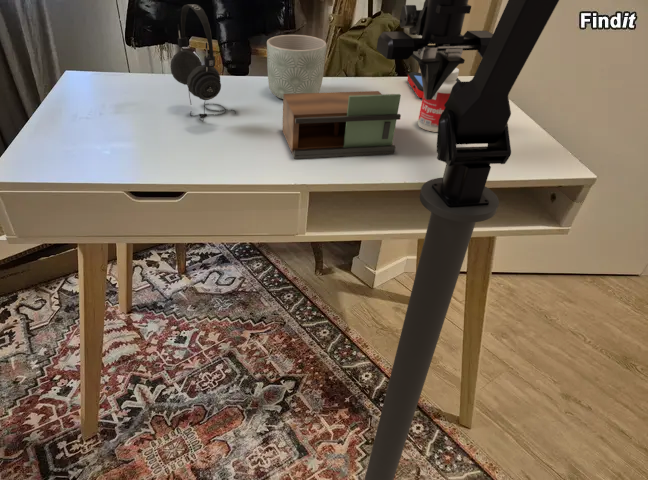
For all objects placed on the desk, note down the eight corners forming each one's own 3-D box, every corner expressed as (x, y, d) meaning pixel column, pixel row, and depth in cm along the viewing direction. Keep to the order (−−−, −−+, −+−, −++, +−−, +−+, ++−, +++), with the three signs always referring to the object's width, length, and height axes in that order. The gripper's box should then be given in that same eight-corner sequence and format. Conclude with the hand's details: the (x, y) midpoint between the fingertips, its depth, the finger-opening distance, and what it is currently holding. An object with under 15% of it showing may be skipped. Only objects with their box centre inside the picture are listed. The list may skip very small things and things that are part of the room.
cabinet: (394, 154, 88) (401, 115, 84) (294, 159, 85) (296, 119, 81) (373, 127, 97) (378, 90, 93) (282, 130, 94) (283, 93, 90)
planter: (280, 108, 103) (281, 52, 97) (257, 89, 112) (257, 37, 105) (332, 101, 108) (337, 47, 101) (307, 83, 116) (310, 32, 110)
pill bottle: (412, 128, 97) (424, 69, 90) (423, 118, 102) (434, 61, 95) (443, 135, 95) (458, 75, 88) (453, 125, 99) (467, 67, 92)
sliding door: (392, 146, 88) (401, 95, 82) (344, 149, 87) (350, 97, 81) (390, 144, 89) (399, 93, 83) (343, 146, 87) (348, 95, 82)
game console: (475, 102, 109) (478, 92, 108) (417, 101, 109) (419, 91, 108) (456, 81, 121) (459, 71, 119) (404, 80, 120) (406, 70, 119)
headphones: (253, 126, 96) (252, 10, 83) (198, 136, 91) (188, 16, 79) (221, 100, 106) (216, -6, 93) (170, 108, 101) (157, -2, 89)
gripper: (481, -15, 82) (458, 82, 92) (372, -16, 79) (360, 84, 89) (517, -2, 73) (487, 103, 83) (397, -2, 71) (380, 107, 80)
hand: (427, 99), depth 84 cm, fingers closed
